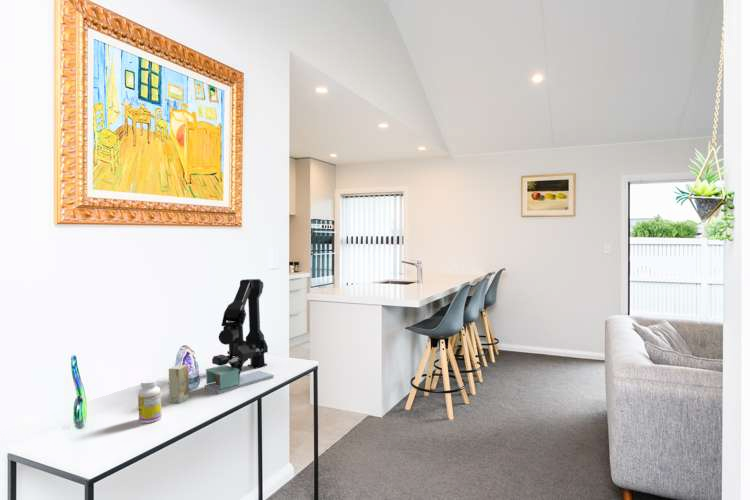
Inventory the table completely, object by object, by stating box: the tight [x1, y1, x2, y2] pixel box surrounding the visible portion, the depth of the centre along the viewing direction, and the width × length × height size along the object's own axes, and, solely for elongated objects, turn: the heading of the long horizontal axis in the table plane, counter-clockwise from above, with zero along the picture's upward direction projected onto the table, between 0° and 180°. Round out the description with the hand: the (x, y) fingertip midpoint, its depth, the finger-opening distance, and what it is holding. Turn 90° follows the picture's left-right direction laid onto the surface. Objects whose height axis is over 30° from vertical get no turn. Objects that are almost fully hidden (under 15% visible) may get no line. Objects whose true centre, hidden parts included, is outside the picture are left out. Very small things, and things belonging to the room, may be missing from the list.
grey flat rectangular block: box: [204, 370, 275, 394], centre depth 190 cm, size 10×25×3 cm, turn 138°
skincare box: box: [168, 364, 190, 404], centre depth 171 cm, size 6×4×12 cm
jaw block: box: [215, 374, 220, 386], centre depth 185 cm, size 4×4×5 cm
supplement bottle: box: [137, 378, 163, 424], centre depth 153 cm, size 7×7×13 cm
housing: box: [205, 364, 240, 389], centre depth 184 cm, size 11×8×6 cm
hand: (237, 377), depth 189 cm, fingers closed
